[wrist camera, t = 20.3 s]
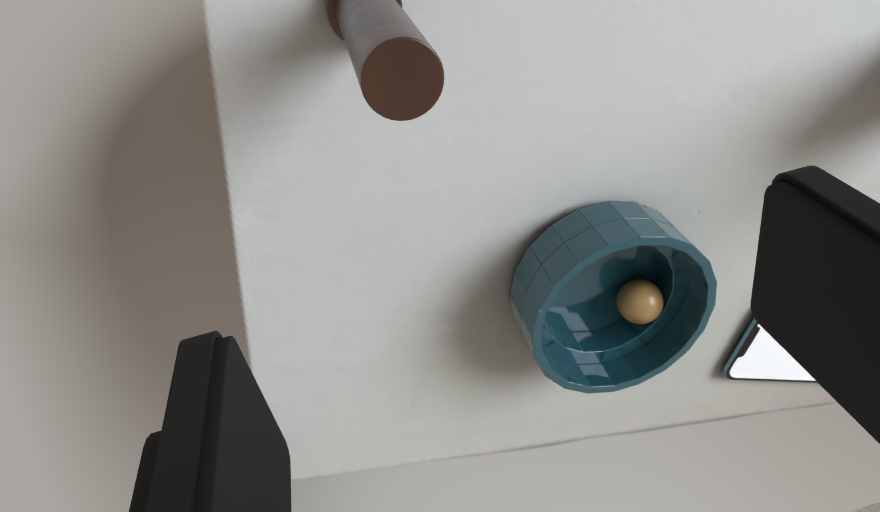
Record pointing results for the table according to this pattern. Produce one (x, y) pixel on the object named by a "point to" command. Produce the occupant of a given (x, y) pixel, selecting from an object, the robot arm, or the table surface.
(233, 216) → the table surface
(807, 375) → the smartphone
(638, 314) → the bead
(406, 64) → the brown flanged cylinder
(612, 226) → the bowl
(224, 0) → the table surface
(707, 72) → the table surface
